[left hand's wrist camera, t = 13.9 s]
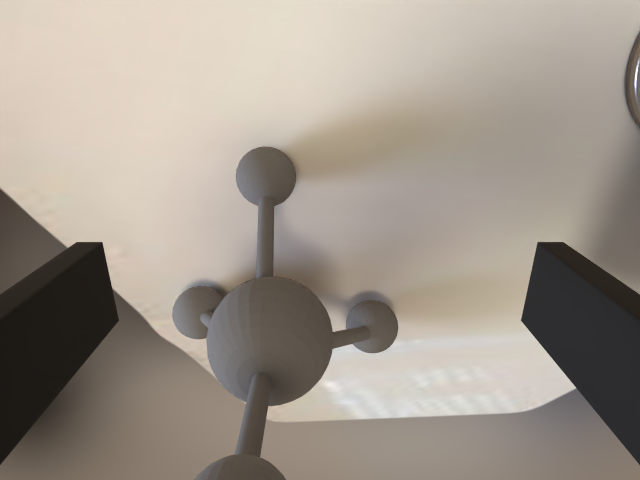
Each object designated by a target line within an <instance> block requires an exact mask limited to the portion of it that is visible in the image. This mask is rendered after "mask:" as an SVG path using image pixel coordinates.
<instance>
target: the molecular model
mask: <svg viewBox="0 0 640 480" xmlns="http://www.w3.org/2000/svg"><path fill="white" fill-rule="evenodd" d="M236 182H237V186H238V188H239V190H240V192H241V193H242V195H243V196H244V197H245V198H246V199H247V200H248V201H249V202H251V203H253V204H255V205H257V206H259V209H258V238H257V267H256V279H253V280H250V281H247V282H245V283H243V284H241V285H240V286H238V287H236V288H235V289H233V290H232V291H231V292H230V293H229V294H228V295H226V296H225V297H224V298H222V296H221V295H220V294H219V293H218V292H217V291H215V290H214V289H211V288H209V287H202V286H198V287H193V288H190V289H188V290H186V291H185V292H183V293H182V294H181V295H180V296H179V297H178V299H177V300H176V302H175V304H174V307H173V321H174V324H175V326H176V328H177V329H178V330H179V331H180V332H181V333H182V334H183V335H185V336H187V337H189V338H193V339H204V338H207V339H206V340H207V353H208V359H209V362H210V365H211V368H212V370H213V372H214V374H215V376H216V377H217V379H218V381H219V382H220V383H221V384H222V385H223V387H224V388H225V389H227V390H228V391H229V392H230V393H232V394H233V395H234V396H235V397H237V398H239V399H241V400H243V401H245V402H247V403H246V407H245V412H244V416H243V420H242V425H241V430H240V434H239V438H238V443H237V447H236V452H235V455H231V456H227V457H224V458H222V459H220V460H218V461H216V462H214V463H212V464H210V465H209V466H208V467H206V468H205V469H204V470H203V471H202V472H201V473H200V474H199V475H198V476H197V477H196V478H195V479H194V480H286V479H285V478H284V476H283V475H282V474H281V472H280V471H279V470H278V469H277V468H276V467H275V466H274V465H272V464H271V463H270V462H268V461H266V460H264V459H263V458H260V454H261V448H262V441H263V435H264V428H265V422H266V416H267V409H268V406H275V405H281V404H285V403H288V402H291V401H293V400H296V399H298V398H300V397H302V396H303V395H304V394H306V393H307V392H308V391H310V390H311V389H312V388H313V387H314V386H315V384H316V383H317V382H318V381H319V380H320V379H321V377H322V376H323V374H324V372H325V370H326V368H327V366H328V364H329V361H330V358H331V354H332V349H333V348H337V347H341V346H345V345H349V344H353V345H354V346H355V347H356V348H358V349H360V350H361V351H364V352H367V353H378V352H382V351H384V350H386V349H387V348H389V347H390V346H391V345H392V343H393V342H394V340H395V339H396V336H397V333H398V322H397V318H396V316H395V314H394V312H393V311H392V310H391V309H390V308H389V307H388V306H387V305H386V304H384V303H382V302H380V301H375V300H368V301H363V302H361V303H359V304H357V305H356V306H355V307H353V309H352V310H351V311H350V313H349V315H348V317H347V320H346V330H341V331H336V332H333V331H332V326H331V321H330V318H329V315H328V313H327V311H326V309H325V307H324V306H323V304H322V303H321V302H320V300H319V299H318V297H317V296H316V295H315V294H314V293H313V292H312V291H311V290H310V289H308V288H307V287H305V286H303V285H302V284H300V283H298V282H295V281H293V280H290V279H286V278H281V277H273V247H274V206H275V205H278V204H280V203H282V202H284V201H285V200H286V199H287V198H288V197H289V196H290V194H291V193H292V191H293V189H294V187H295V182H296V173H295V168H294V166H293V163H292V162H291V160H290V159H289V158H288V156H287V155H286V154H284V153H283V152H282V151H280V150H278V149H275V148H272V147H259V148H256V149H253V150H251V151H250V152H248V153H247V154H246V155H245V156H244V157H243V158H242V159H241V161H240V162H239V165H238V167H237V171H236Z"/></svg>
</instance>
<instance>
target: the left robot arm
mask: <svg viewBox="0 0 640 480" xmlns="http://www.w3.org/2000/svg"><path fill="white" fill-rule="evenodd" d="M626 95H627V101H628V105H629V108H630V111H631V114H632V116H633V118H634V119H635V121H636V123H637V124H638V125H639V127H640V35H639V37H638V39H637V41H636V43H635V45H634V48H633V50H632V54H631V57H630V60H629V64H628V69H627V76H626ZM118 321H119V319H118V314H117V310H116V305H115V300H114V295H113V290H112V286H111V281H110V276H109V272H108V267H107V262H106V257H105V253H104V248H103V243H102V242H76V243H75V244H73V245H72V246H71V247H69V248H68V249H66V250H65V251H63V252H62V253H60V254H59V255H57V256H56V257H54V258H53V259H52V260H50V261H49V262H47V263H46V264H44V265H43V266H41V267H40V268H38V269H37V270H35V271H34V272H33V273H31V274H30V275H28V276H27V277H25V278H24V279H22V280H21V281H19V282H18V283H17V284H15V285H14V286H12V287H11V288H9V289H8V290H6V291H5V292H3V293H2V294H0V464H1V463H2V462H3V461H4V460H5V458H6V457H7V456H8V455H9V454H10V452H11V451H12V450H13V449H14V447H15V446H16V445H17V444H18V443H19V441H20V440H21V439H22V438H23V436H24V435H25V434H26V433H27V432H28V430H29V429H30V428H31V427H32V426H33V424H34V423H35V422H36V421H37V419H38V418H39V417H40V416H41V415H42V413H43V412H44V411H45V410H46V409H47V407H48V406H49V405H50V404H51V402H52V401H53V400H54V399H55V398H56V396H57V395H58V394H59V393H60V392H61V390H62V389H63V388H64V387H65V385H66V384H67V383H68V382H69V380H70V379H71V378H72V377H73V376H74V374H75V373H76V372H77V371H78V370H79V368H80V367H81V366H82V365H83V364H84V362H85V361H86V360H87V359H88V357H89V356H90V355H91V354H92V353H93V351H94V350H95V349H96V348H97V347H98V345H99V344H100V343H101V342H102V340H103V339H104V338H105V337H106V336H107V334H108V333H109V332H110V331H111V329H112V328H113V327H114V326H115V325H116V323H117V322H118ZM521 321H522V322H523V323H524V325H525V326H526V327H527V328H528V329H529V331H530V332H531V333H532V334H533V336H534V337H535V338H536V339H537V340H538V342H539V343H540V344H541V345H542V347H543V348H544V349H545V350H546V351H547V353H548V354H549V355H550V356H551V357H552V359H553V360H554V361H555V362H556V364H557V365H558V366H559V367H560V368H561V370H562V371H563V372H564V373H565V374H566V376H567V377H568V378H569V379H570V381H571V382H572V383H573V384H574V385H575V387H576V388H577V389H578V390H579V391H580V393H581V394H582V395H583V396H584V398H585V399H586V400H587V401H588V402H589V404H590V405H591V406H592V407H593V409H594V410H595V411H596V412H597V413H598V415H599V416H600V417H601V418H602V419H603V421H604V422H605V423H606V424H607V426H608V427H609V428H610V429H611V430H612V432H613V433H614V434H615V435H616V437H617V438H618V439H619V440H620V441H621V443H622V444H623V445H624V446H625V447H626V449H627V450H628V451H629V452H630V454H631V455H632V456H633V457H634V458H635V460H636V461H637V462H638V463H639V464H640V294H638V293H637V292H635V291H634V290H632V289H631V288H629V287H628V286H626V285H625V284H624V283H622V282H621V281H619V280H618V279H616V278H615V277H613V276H612V275H610V274H609V273H607V272H606V271H605V270H603V269H602V268H600V267H599V266H597V265H596V264H594V263H593V262H591V261H590V260H588V259H587V258H586V257H584V256H583V255H581V254H580V253H578V252H577V251H575V250H574V249H572V248H571V247H569V246H568V245H567V244H565V243H564V242H538V243H537V248H536V253H535V257H534V262H533V267H532V272H531V276H530V281H529V286H528V290H527V295H526V300H525V305H524V309H523V314H522V319H521Z"/></svg>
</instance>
